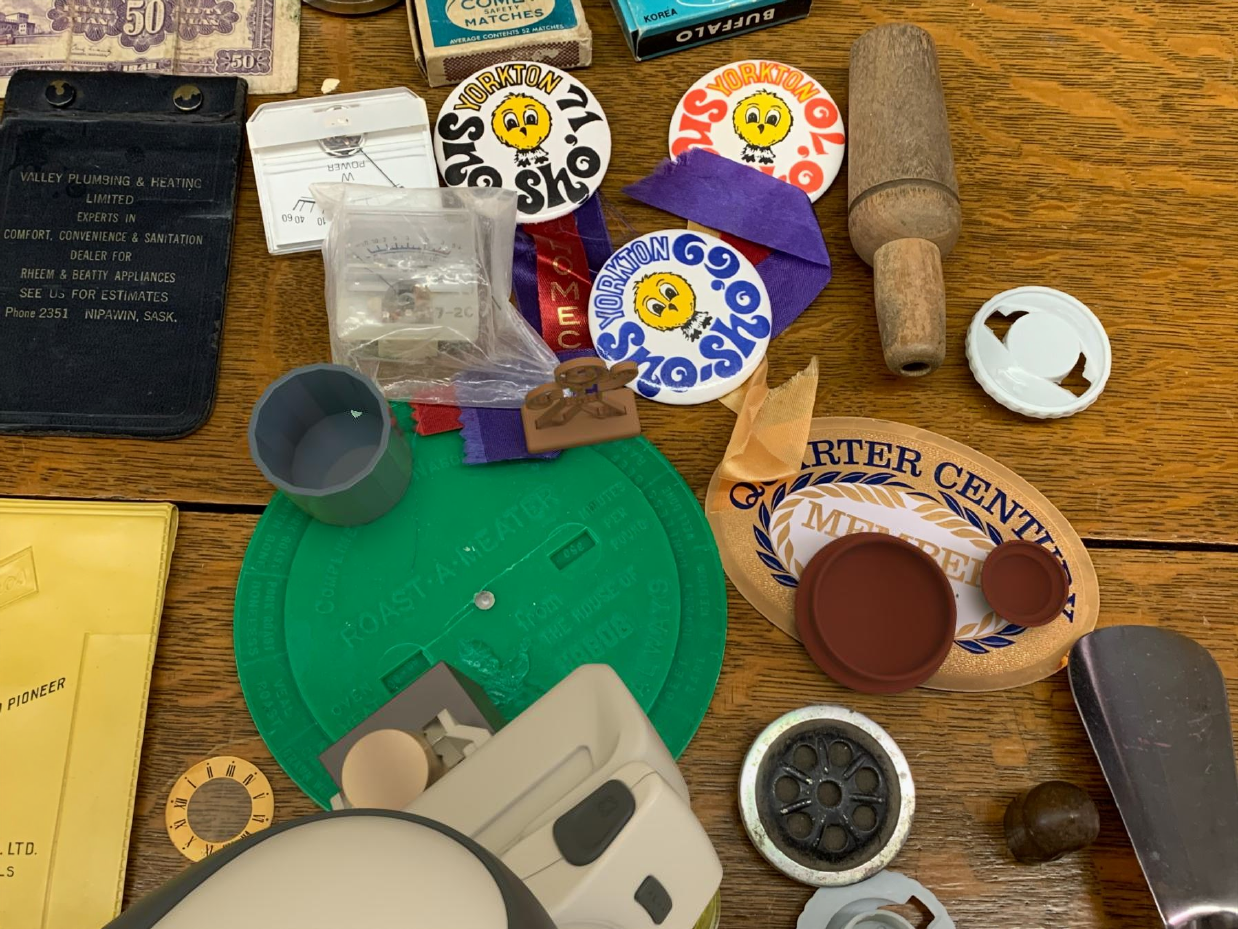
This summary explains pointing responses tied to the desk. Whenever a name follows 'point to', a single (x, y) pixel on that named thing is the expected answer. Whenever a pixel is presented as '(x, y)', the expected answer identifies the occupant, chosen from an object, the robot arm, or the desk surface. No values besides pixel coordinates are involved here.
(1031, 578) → the pottery
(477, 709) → the stand
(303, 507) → the cup
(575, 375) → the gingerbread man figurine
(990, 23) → the desk surface
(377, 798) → the shaker
